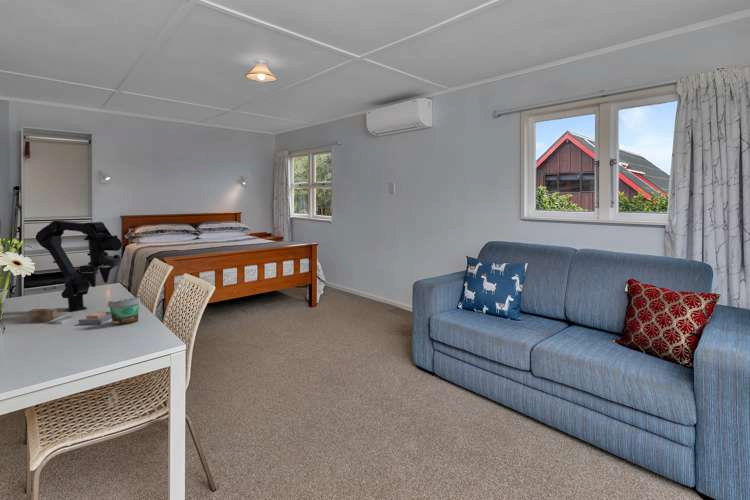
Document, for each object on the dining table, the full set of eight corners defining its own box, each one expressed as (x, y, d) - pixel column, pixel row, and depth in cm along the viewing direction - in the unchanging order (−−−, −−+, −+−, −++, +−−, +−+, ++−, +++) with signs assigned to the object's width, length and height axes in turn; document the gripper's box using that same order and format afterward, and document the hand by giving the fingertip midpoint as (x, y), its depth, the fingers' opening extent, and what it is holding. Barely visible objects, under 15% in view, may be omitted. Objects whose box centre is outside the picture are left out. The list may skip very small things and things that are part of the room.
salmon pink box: (86, 322, 171) (86, 315, 171) (95, 319, 176) (94, 312, 176) (98, 323, 171) (97, 315, 171) (106, 319, 176) (106, 312, 176)
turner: (25, 324, 168) (24, 312, 167) (39, 318, 176) (38, 307, 175) (61, 323, 169) (60, 311, 168) (74, 318, 177) (73, 306, 176)
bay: (79, 324, 168) (78, 320, 167) (96, 316, 179) (96, 311, 179) (99, 324, 168) (99, 319, 168) (116, 316, 180) (115, 311, 180)
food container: (117, 328, 164) (115, 303, 162) (109, 325, 167) (107, 301, 166) (148, 320, 174) (146, 297, 173) (139, 318, 177) (138, 295, 176)
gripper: (104, 253, 176) (106, 289, 178) (126, 247, 195) (129, 280, 197) (76, 253, 175) (79, 289, 177) (102, 247, 194) (104, 280, 196)
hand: (99, 284), depth 187 cm, fingers open, 9 cm apart
